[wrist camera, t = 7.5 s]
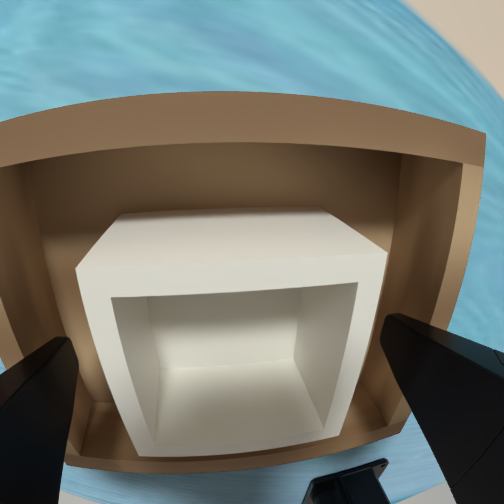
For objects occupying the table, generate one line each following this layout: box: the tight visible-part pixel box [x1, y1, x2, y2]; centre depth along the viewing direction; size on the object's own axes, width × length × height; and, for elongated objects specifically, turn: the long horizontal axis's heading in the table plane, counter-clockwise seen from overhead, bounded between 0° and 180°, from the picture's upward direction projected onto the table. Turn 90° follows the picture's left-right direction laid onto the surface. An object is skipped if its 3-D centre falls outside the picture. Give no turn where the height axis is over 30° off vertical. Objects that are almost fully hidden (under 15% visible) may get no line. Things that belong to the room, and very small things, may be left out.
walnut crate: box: [0, 91, 486, 474], centre depth 9 cm, size 12×14×4 cm
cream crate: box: [75, 206, 388, 457], centre depth 8 cm, size 6×6×4 cm
